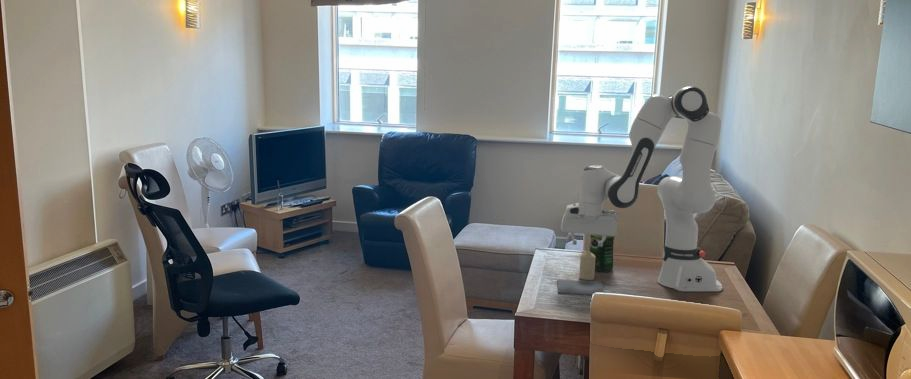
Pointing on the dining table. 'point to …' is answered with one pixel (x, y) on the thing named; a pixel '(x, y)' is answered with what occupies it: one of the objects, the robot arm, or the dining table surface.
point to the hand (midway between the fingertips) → (587, 245)
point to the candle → (587, 266)
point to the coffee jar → (602, 252)
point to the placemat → (579, 287)
